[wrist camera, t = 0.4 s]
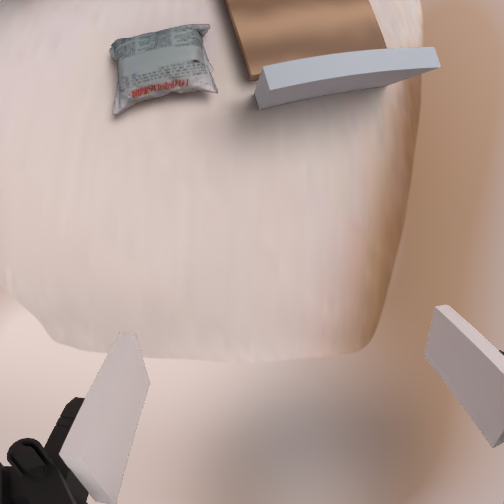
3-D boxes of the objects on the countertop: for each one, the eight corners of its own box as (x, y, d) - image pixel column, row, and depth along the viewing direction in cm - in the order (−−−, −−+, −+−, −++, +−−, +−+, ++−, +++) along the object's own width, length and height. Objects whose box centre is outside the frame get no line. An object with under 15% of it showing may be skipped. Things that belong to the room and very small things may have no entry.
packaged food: (219, 97, 33) (216, 88, 28) (118, 116, 33) (102, 112, 28) (211, 29, 30) (207, 13, 26) (113, 50, 30) (98, 38, 26)
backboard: (254, 93, 33) (262, 66, 21) (381, 70, 32) (434, 47, 21) (259, 109, 33) (270, 90, 22) (386, 85, 33) (440, 67, 21)
